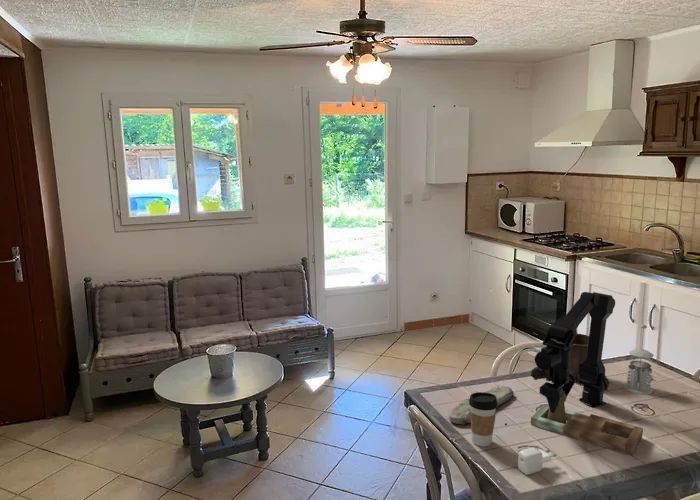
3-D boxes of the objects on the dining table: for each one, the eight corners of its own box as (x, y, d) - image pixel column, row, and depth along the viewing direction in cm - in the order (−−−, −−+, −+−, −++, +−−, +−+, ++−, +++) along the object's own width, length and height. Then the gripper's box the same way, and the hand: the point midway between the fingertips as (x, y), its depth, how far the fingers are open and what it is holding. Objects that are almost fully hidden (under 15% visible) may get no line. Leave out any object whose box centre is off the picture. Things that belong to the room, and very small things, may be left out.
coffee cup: (490, 451, 163) (492, 404, 160) (463, 444, 167) (465, 398, 165) (499, 439, 170) (501, 393, 167) (473, 432, 174) (474, 388, 172)
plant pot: (548, 369, 224) (550, 332, 221) (584, 370, 223) (587, 332, 220) (560, 384, 209) (563, 345, 206) (600, 385, 209) (603, 345, 206)
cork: (565, 420, 181) (567, 389, 180) (566, 428, 176) (568, 396, 174) (546, 417, 183) (548, 386, 182) (546, 425, 178) (548, 394, 176)
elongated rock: (520, 400, 200) (496, 394, 207) (520, 386, 199) (496, 380, 206) (466, 429, 175) (441, 421, 182) (467, 413, 175) (441, 405, 182)
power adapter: (545, 459, 158) (547, 440, 157) (558, 467, 154) (559, 448, 153) (515, 468, 154) (516, 449, 153) (527, 477, 150) (528, 457, 149)
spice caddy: (642, 438, 169) (642, 428, 169) (632, 455, 160) (633, 444, 159) (544, 410, 188) (544, 401, 188) (530, 424, 179) (531, 414, 178)
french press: (654, 386, 207) (660, 323, 202) (651, 398, 197) (657, 331, 193) (625, 381, 212) (630, 319, 208) (621, 392, 202) (626, 327, 198)
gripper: (545, 348, 188) (542, 391, 191) (524, 365, 174) (522, 410, 177) (578, 355, 181) (575, 399, 184) (560, 373, 167) (557, 421, 170)
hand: (557, 407), depth 179 cm, fingers open, 9 cm apart
